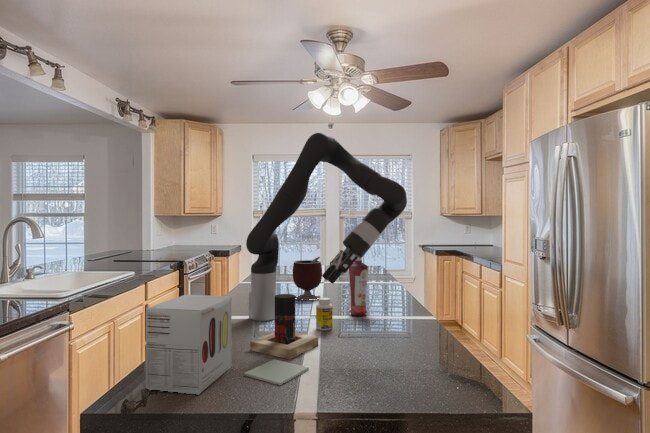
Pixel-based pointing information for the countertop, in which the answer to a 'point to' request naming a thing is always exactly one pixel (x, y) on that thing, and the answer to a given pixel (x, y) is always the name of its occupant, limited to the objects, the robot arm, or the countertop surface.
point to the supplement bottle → (324, 314)
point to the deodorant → (285, 318)
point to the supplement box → (188, 343)
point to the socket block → (284, 345)
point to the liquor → (358, 287)
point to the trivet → (276, 371)
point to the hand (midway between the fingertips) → (326, 279)
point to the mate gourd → (307, 276)
